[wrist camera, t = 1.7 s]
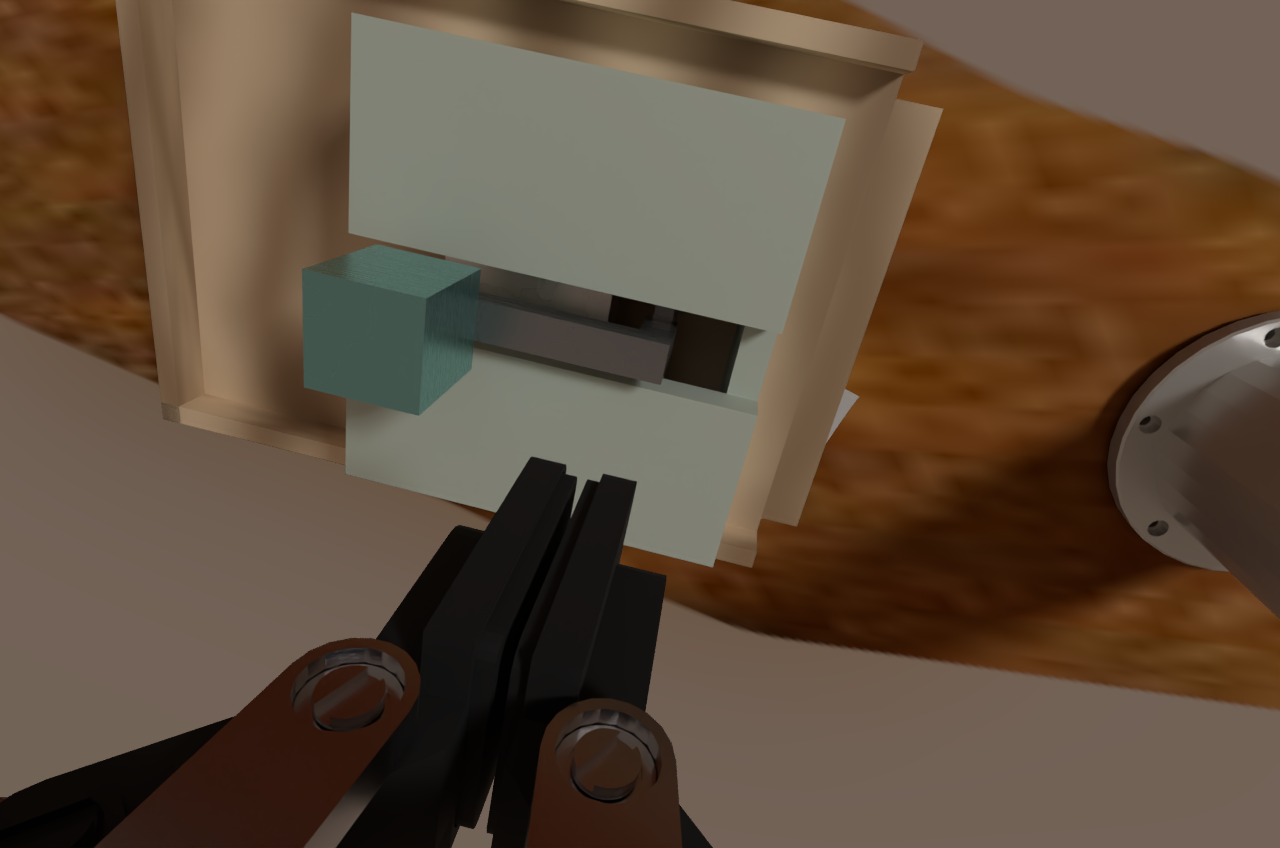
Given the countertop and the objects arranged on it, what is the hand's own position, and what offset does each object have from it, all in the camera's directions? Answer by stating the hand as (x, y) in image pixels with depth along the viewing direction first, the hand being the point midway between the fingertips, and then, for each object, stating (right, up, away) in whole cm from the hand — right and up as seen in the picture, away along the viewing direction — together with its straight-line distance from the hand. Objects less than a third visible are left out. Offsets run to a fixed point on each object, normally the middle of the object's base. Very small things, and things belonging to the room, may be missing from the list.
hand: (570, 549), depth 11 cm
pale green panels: (-1, +7, +15) cm, 17 cm away
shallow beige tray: (-3, +11, +21) cm, 24 cm away
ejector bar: (-1, +7, +15) cm, 16 cm away
